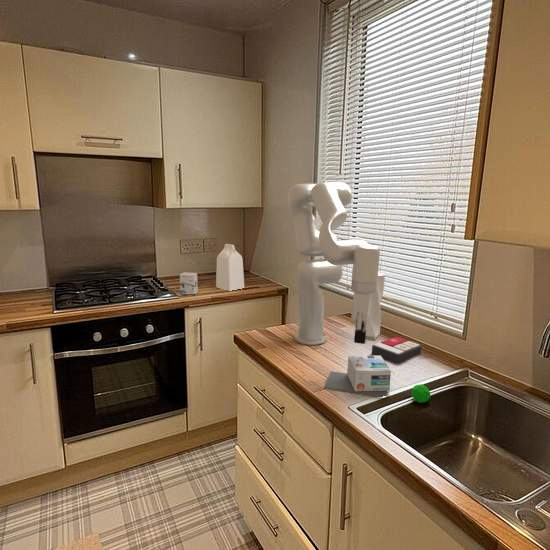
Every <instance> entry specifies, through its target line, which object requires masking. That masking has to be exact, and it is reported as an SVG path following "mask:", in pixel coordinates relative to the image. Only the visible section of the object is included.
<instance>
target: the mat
mask: <svg viewBox="0 0 550 550" xmlns="http://www.w3.org/2000/svg"><path fill="white" fill-rule="evenodd" d="M323 388H324V389H326V390H332V391H338V392H343V393H349V394H355V395H361V396H366V397H368V396H369V397H372V398H377V397H383V396H386V395H387V396H388V391H355V390H354V388H353V386H352V384H351V382H350V379H349V377H348V375H347V372H340V371H333V370H330V373H329V374H328V377H327V379H326V381H325V384H324V386H323ZM385 398H386V399H387V397H385Z"/></svg>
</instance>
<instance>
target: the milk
mask: <svg viewBox="0 0 550 550" xmlns="http://www.w3.org/2000/svg"><path fill="white" fill-rule="evenodd" d="M215 273H216V278H215V279H216V280H215V281H216V282H215V288H216V287H217V288H220V289H224V290H228V291H232V290H237V289H241V290H243V289H242V288H245V277H244V276H245V275H244V262H243V256H242V255H241V254H240V253H239V252H238V251H237V250H236V248H235V244H231V243H230V244H229V243H225V244H224V247H223V249H222V250H221V251H220V253H218V255H217V257H216V272H215ZM237 291H238V290H237Z"/></svg>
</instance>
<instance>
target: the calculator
mask: <svg viewBox="0 0 550 550" xmlns="http://www.w3.org/2000/svg"><path fill="white" fill-rule="evenodd" d="M421 353H422V346H421V344H419V343H416V342H414V341H410V340H407V339H404V338H401V337H398V336H394V337H392V338H389V339H385V340H382V341H380V342H378V343H375V344H373V345H371V356H381V357H382V358H383V360H384V361H385V360H386V361H388V362H390V363H392V362H393V364H395V365H400V364H402V363H403V362H405V361H406V360H409V359H412V358H414V357H416V356H418V355H420V354H421Z"/></svg>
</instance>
